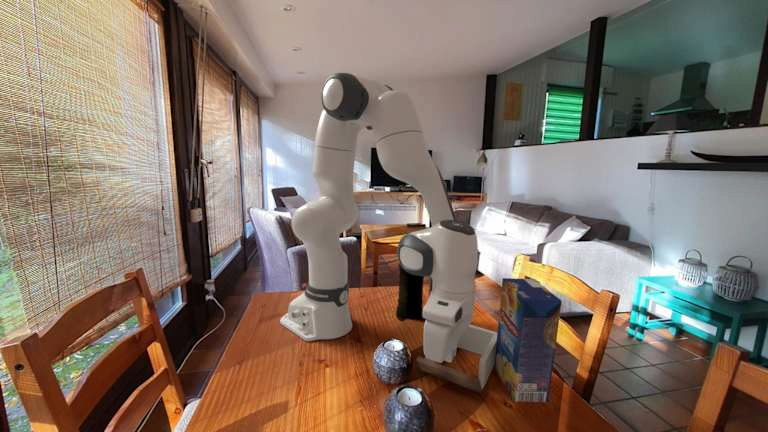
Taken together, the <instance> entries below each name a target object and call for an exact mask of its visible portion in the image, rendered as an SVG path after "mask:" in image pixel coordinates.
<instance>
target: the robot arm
mask: <svg viewBox="0 0 768 432" xmlns="http://www.w3.org/2000/svg"><path fill="white" fill-rule="evenodd" d="M321 104H322V105H321V106H322V107H323V110H322V111H321V114H320V117H319V120H318V123H317V128H316V133H315V134H316V135H315V139H314V140H315V141H314V151H313V159H312V160H313V161H312V163H313V164H312V177H313V178H314V180H315V181H316V183H317V187H318V193H319V197H318V199H316V200H312V201H308V202H306V203H305V204H302V205H301V206H300V207H299V208H297V209H296V210H295V211H294V212H293V214H292V216H291V229H292V232H293V234H294V235H295V237H296V238H298V240H300V241H302V243H303V246H304V247H305V251H306V254H307V260H308V281H307V282H304V283H302V284H301V288H303V289H304V288H305V290H304V292H303V293H301V294H300V295H298V296H297V297H296V298H294V299H292V300H291V301H290V303H289V305H288V309H287V313H285V314H284V315H283V316H282V317H281V318H280V320H279V323H280V325H281V326H283V327H284V328H286V329H288V330H289V331H291V333H294V334H295V335H296V336H298V337H300V338H301V339H302V340H304V341H306V342H312V341H317V340H333V339H334V340H335V339H338V338H341V337H343V336H346V335H348V333H349V332H350V331H352V329H353V322H352V318H351V314H350V307H349V295H350V292H349V291H350V286H349V280H348V256H347V253H345V252H344V251H343V248H342V245H341V240H340V235H341V234H342V233H343V232H347V231H348V230H350V229H351V228H352V227H353V226H354V225H355V223H356V222H357V221H358V218H359V215H360V214H359V213H360V211H359V210H360V209H359V207H358V205H357V202H356V201H355V192H354V170H355V160H356V151H357V145H358V144H357V142H358V141H357V140H358V136H359V133H360V131H361V130H362V129H364V128H366V129H367V130H368V131H371V130H372V131H373V137H374V142H375V149H376V153H377V157H378V160H379V163H380V165H381V167H382V168H383V170H384V171H385V172H386V173H387V174H388V175H389V176H390V177H392V178H393V179H395V180H398V181H400V182H403V183H405V184H407V185H409V186H411V187H413V188H414V189H415V190H416V191H418V192H419V195H421V197H422V199H423V202H424V205H425V208H426V211H427V214H428V217H429V220H430V223H431V227H428V228H425V229H421V230H416V231H411V232H409V233H406V234H404V235H403V236H402V237H401V238H400V239H399V242H398V244H397V250H396V251H397V253H396V255H397V259H398V260H397V261H398V263H399V262H400V264H401V266H402V268H403V269H404V270H405V271H407V272H408V273H410V274H412V275H417V276H424V277H429V278H430V277H431V278H432V280H433V282H432V291H431V293H430V297H429V296H428V298H429V299H428V298H427V301H426V303H425V304H424V306H423V307H422V308H423V314H422V315H423V319H425V321H424V324H423V337H422V338H423V341H422V343H423V353H424V357H425V356H426V358H428V359H430V360H433V361H435V363H438V364H441V363H443V362H447V363H452V361H453V360H454V359H455V357H456V356H457V349H458V347H457V346H458V342H459V339H460V337H461V336H462V335H463V333H464V332H465V331H466V329H467V328H468V326H469V325H472V322H473V318H474V310H475V305H476V304H475V302H476V287H477V285H476V281H475V275H476V271H477V269H478V257H479V255H478V254H479V252H478V251H479V249H478V247H479V245H478V237H477V233H476V230H475V229H474V227H473V226H471V225H470V224H469V223H466V222H464V221H461V220H458V219H457V216H456V214H455V212H454V211H455V210H454V208H453V205H452V202H451V200H450V199H451V198H450V196H449V193H448V189H447V186H446V184H445V181H444V179H443V176H442V173H441V171H440V169H439V167H438V166H437V164H436V163H435V161H434V160H433V158H432V156H431V154H430V153H429V149H428V147H427V143H426V140H425V138H424V131H423V128H422V125H421V121H420V118H419V115H418V112H417V108H416V107H415V104H414V102H413V99H412V97H410V95H409V94H407V93H406V92H404V91H402V90H397V89H393V88H392V87H390V86H389V85H387V84H383V83H381V82H379V81H377V80H374V79H372V78H369V77H363V76H359V75H353V74H352V73H347V72H337V73H336V72H335V73H332V74H331V75H329V76H328V78H327V79H326V81H324V84H323V86H322V90H321Z"/></svg>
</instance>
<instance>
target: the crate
mask: <svg viewBox="0 0 768 432" xmlns="http://www.w3.org/2000/svg"><path fill="white" fill-rule="evenodd" d="M497 332H498V331H493V330H489V329H486V328H483V327H480V326H476V325H473V324H470V325H469V326H468V328H467V329H466V331H465V332H464V333H463V335H462V336H461V337H460V339H459V342H458V346H457V348H459V349H461V350H462V349H463V350H466V351H468V352H471V353H474V354H478V355H480V356H481V357H480V359H479V365H478V374H477V376H478V377H477V378H479V380H480V384H481V387H482V390H483V389H485V385H486V383H487V382H488V379H489V377H490V375H491V373H492V371H493V369H494V368H495V367H494V362H495V352H496V342H497ZM424 358H425V359H427V360H430V359H428V358H426V356H425V355H424ZM430 361H433V360H430ZM433 362H435V363H436V361H433Z"/></svg>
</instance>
